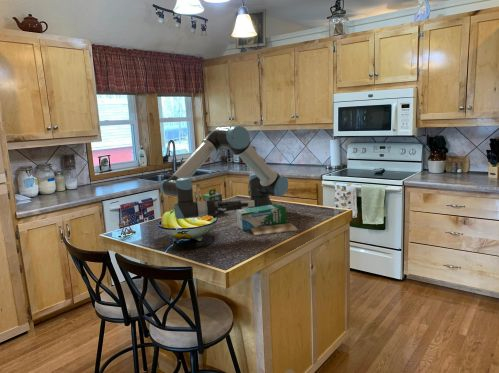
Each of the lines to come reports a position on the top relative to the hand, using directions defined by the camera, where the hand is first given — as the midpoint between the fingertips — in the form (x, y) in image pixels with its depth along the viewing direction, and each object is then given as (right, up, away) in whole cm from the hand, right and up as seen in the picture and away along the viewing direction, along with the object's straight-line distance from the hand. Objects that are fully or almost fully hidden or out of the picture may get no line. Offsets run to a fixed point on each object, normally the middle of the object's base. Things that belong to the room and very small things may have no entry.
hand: (254, 203), depth 194 cm
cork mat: (+10, -14, +5) cm, 18 cm away
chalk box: (-25, -8, +48) cm, 55 cm away
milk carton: (-8, -9, +10) cm, 16 cm away
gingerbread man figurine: (-67, -17, +14) cm, 71 cm away
